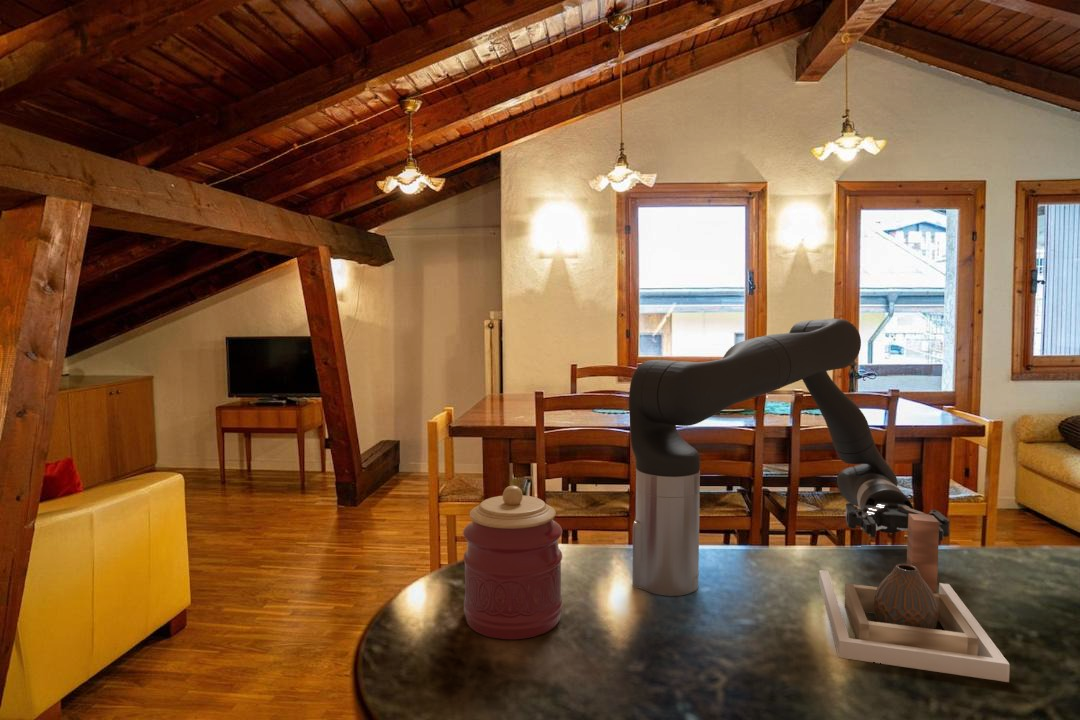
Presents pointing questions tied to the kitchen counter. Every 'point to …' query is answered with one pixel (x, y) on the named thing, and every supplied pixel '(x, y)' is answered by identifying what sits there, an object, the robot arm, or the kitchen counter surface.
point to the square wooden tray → (926, 561)
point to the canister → (512, 567)
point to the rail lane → (981, 666)
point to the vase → (905, 599)
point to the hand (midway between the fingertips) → (905, 533)
